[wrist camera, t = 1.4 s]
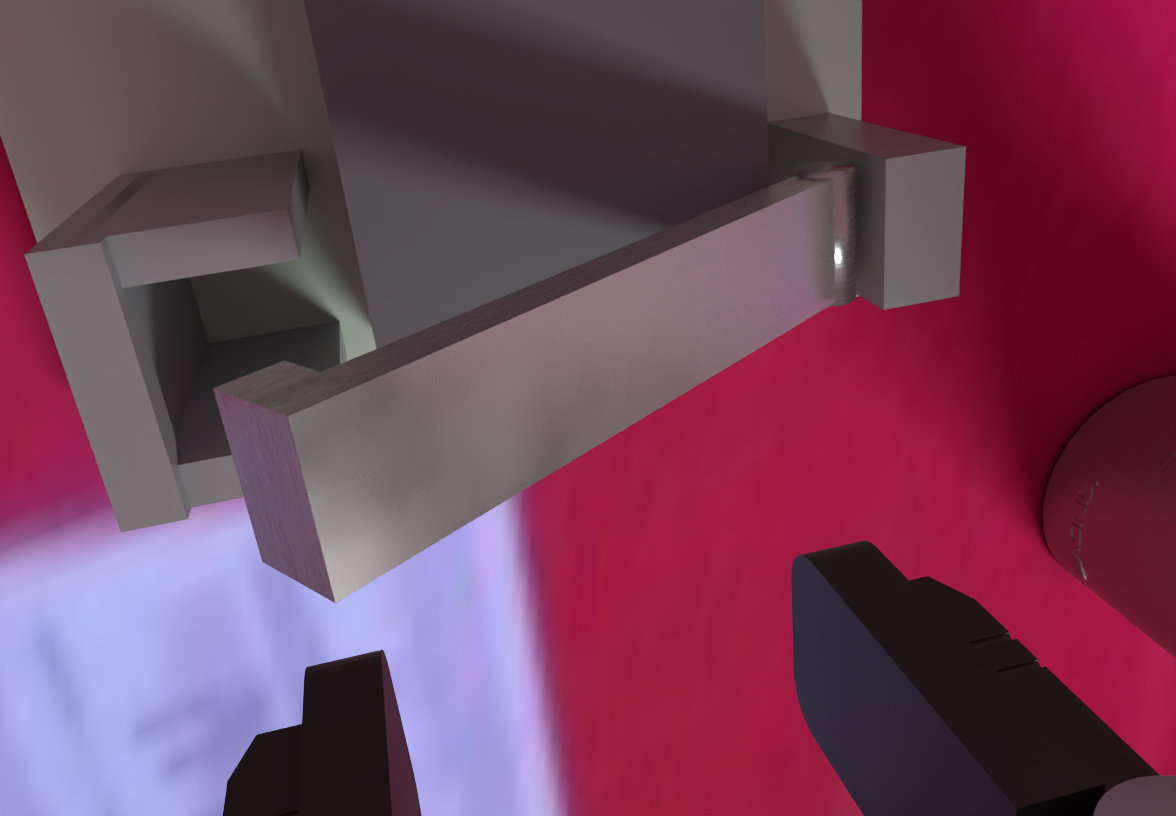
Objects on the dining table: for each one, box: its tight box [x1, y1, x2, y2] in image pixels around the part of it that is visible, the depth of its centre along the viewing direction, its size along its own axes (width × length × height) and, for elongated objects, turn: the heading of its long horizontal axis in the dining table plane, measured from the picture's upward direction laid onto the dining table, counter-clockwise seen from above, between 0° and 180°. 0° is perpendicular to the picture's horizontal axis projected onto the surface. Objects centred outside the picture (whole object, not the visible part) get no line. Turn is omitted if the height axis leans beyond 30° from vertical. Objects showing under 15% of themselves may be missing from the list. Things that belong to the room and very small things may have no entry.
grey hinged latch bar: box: [213, 161, 857, 603], centre depth 19 cm, size 16×3×2 cm
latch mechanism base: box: [0, 0, 966, 532], centre depth 22 cm, size 23×20×10 cm
